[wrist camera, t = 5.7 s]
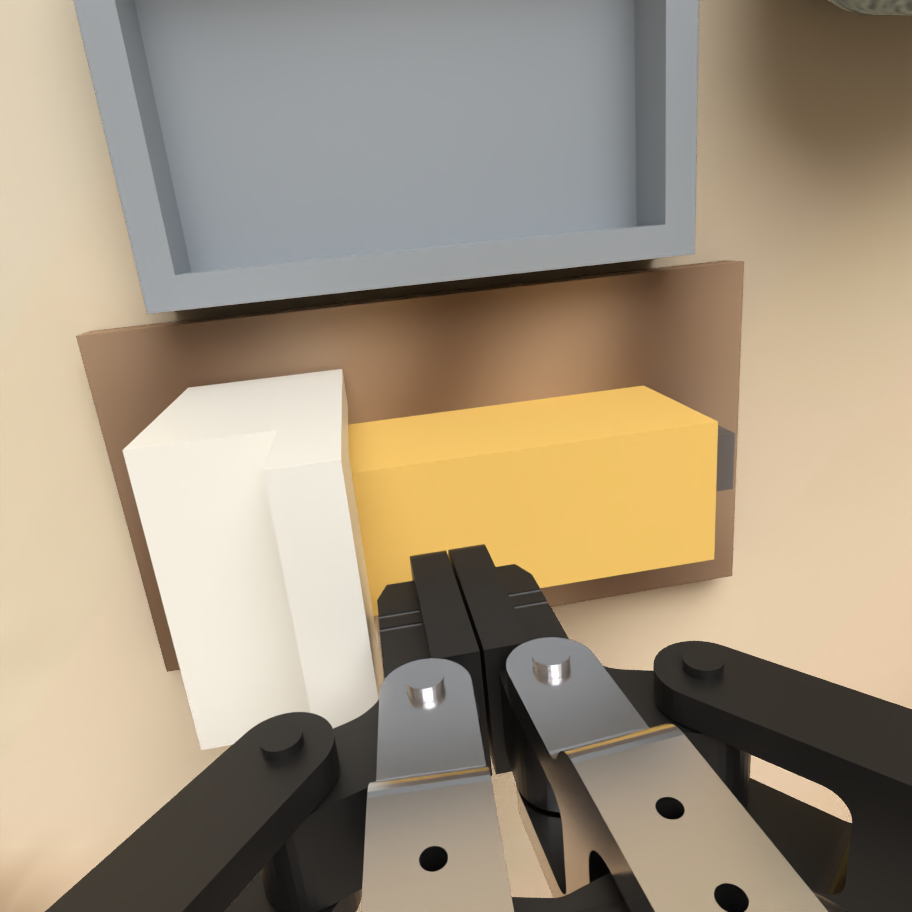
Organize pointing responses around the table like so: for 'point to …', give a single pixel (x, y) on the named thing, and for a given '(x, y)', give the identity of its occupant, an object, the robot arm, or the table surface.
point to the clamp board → (453, 371)
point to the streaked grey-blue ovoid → (875, 6)
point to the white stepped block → (259, 552)
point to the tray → (392, 139)
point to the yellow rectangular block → (540, 486)
